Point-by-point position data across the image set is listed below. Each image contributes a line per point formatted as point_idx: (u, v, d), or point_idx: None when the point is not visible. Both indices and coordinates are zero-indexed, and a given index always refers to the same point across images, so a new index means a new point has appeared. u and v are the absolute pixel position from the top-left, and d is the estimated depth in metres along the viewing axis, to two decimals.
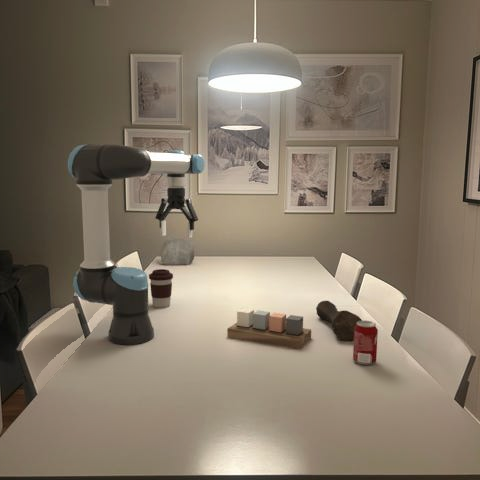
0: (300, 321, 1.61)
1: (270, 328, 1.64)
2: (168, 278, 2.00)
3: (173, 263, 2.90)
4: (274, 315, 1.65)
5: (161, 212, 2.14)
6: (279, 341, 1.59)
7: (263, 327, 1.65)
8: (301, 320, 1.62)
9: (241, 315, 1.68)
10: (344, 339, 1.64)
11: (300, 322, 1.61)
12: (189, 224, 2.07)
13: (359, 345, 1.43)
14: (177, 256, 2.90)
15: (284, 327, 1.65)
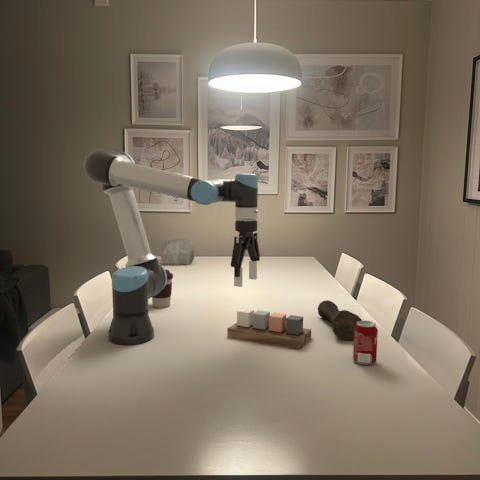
0: (300, 321, 1.61)
1: (270, 328, 1.64)
2: (168, 278, 2.00)
3: (173, 263, 2.90)
4: (274, 315, 1.65)
5: None
6: (279, 341, 1.59)
7: (263, 327, 1.65)
8: (301, 320, 1.62)
9: (241, 315, 1.68)
10: (344, 339, 1.64)
11: (300, 322, 1.61)
12: None
13: (359, 345, 1.43)
14: (177, 256, 2.90)
15: (284, 327, 1.65)
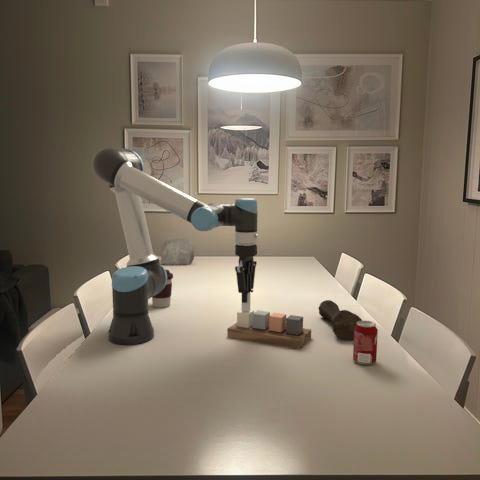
0: (300, 321, 1.61)
1: (270, 328, 1.64)
2: (168, 278, 2.00)
3: (173, 263, 2.90)
4: (274, 315, 1.65)
5: None
6: (279, 341, 1.59)
7: (263, 327, 1.65)
8: (301, 320, 1.62)
9: (241, 316, 1.68)
10: (343, 338, 1.65)
11: (300, 322, 1.61)
12: None
13: (359, 345, 1.43)
14: (177, 256, 2.90)
15: (284, 327, 1.65)
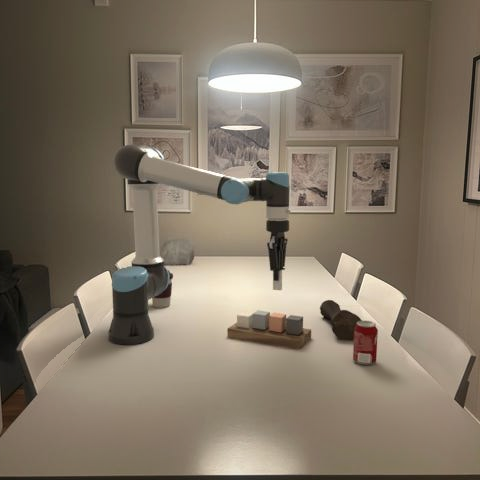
0: (300, 321, 1.61)
1: (270, 328, 1.64)
2: None
3: (173, 263, 2.90)
4: (274, 315, 1.65)
5: None
6: (279, 341, 1.59)
7: (263, 327, 1.65)
8: (301, 320, 1.62)
9: (241, 319, 1.69)
10: (343, 338, 1.65)
11: (300, 322, 1.61)
12: (273, 272, 1.63)
13: (359, 345, 1.43)
14: (177, 256, 2.90)
15: (284, 327, 1.65)
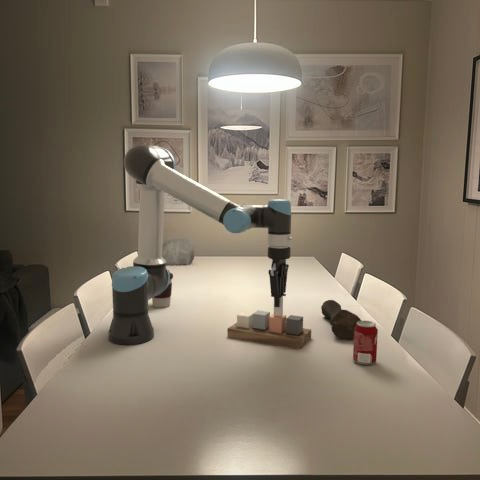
0: (300, 321, 1.61)
1: (270, 329, 1.64)
2: None
3: (173, 263, 2.90)
4: (274, 316, 1.65)
5: None
6: (279, 341, 1.59)
7: (263, 327, 1.65)
8: (301, 320, 1.62)
9: (241, 319, 1.69)
10: (342, 338, 1.65)
11: (300, 322, 1.61)
12: None
13: (359, 345, 1.43)
14: (177, 256, 2.90)
15: (284, 328, 1.65)
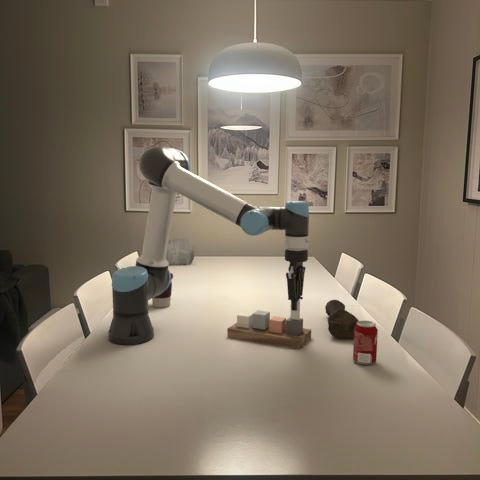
0: (300, 323, 1.61)
1: None
2: None
3: (173, 263, 2.90)
4: (274, 318, 1.65)
5: None
6: (279, 341, 1.59)
7: (263, 327, 1.65)
8: (301, 322, 1.62)
9: (241, 319, 1.69)
10: (338, 337, 1.66)
11: (300, 324, 1.61)
12: (291, 302, 1.61)
13: (359, 345, 1.43)
14: (177, 256, 2.90)
15: (283, 331, 1.65)
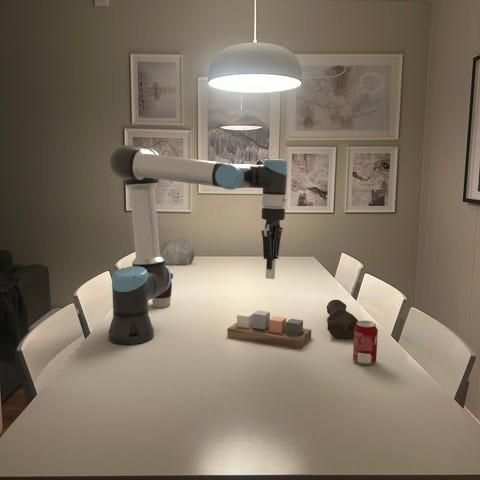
0: (299, 325, 1.61)
1: None
2: None
3: (173, 263, 2.90)
4: (274, 318, 1.65)
5: None
6: (279, 341, 1.59)
7: (263, 327, 1.65)
8: (301, 324, 1.62)
9: (241, 319, 1.69)
10: (337, 337, 1.66)
11: (300, 326, 1.61)
12: None
13: (359, 345, 1.43)
14: (177, 256, 2.90)
15: (283, 331, 1.65)
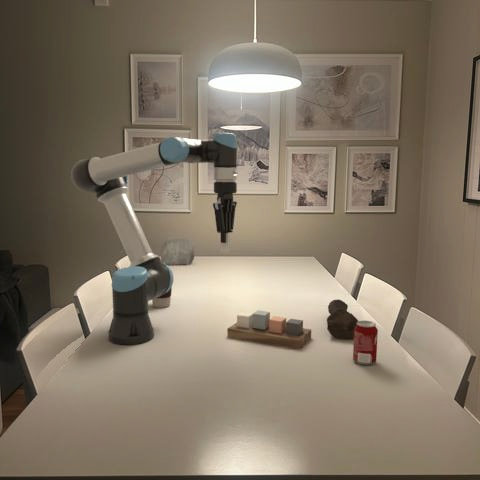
0: (299, 325, 1.61)
1: None
2: None
3: (173, 263, 2.90)
4: (274, 318, 1.65)
5: None
6: (279, 341, 1.59)
7: (263, 327, 1.65)
8: (301, 324, 1.62)
9: (241, 319, 1.69)
10: (337, 337, 1.66)
11: (300, 326, 1.61)
12: None
13: (359, 345, 1.43)
14: (177, 256, 2.90)
15: (283, 331, 1.65)
